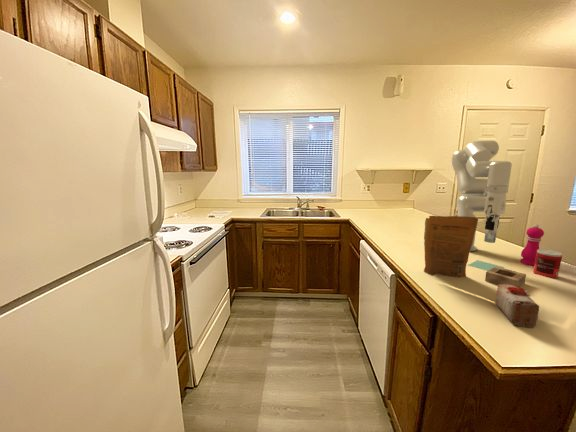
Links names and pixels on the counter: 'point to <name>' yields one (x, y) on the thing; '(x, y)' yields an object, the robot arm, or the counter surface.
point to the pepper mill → (532, 245)
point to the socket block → (505, 277)
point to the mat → (483, 265)
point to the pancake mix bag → (448, 244)
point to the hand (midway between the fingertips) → (491, 228)
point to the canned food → (547, 263)
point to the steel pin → (491, 232)
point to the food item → (517, 305)
